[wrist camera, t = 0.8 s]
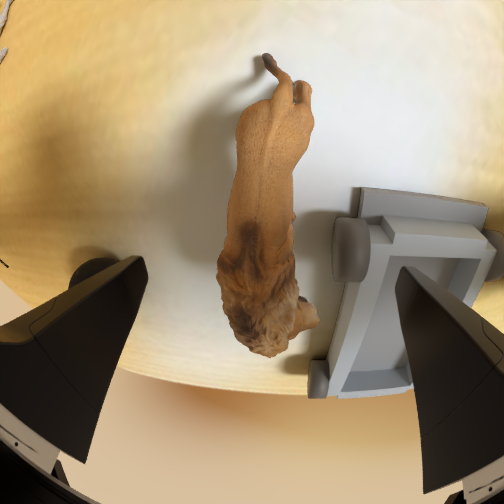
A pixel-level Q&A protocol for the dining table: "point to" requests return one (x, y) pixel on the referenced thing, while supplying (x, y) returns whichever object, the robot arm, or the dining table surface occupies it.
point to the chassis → (384, 279)
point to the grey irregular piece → (3, 17)
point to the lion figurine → (266, 221)
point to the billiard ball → (90, 270)
